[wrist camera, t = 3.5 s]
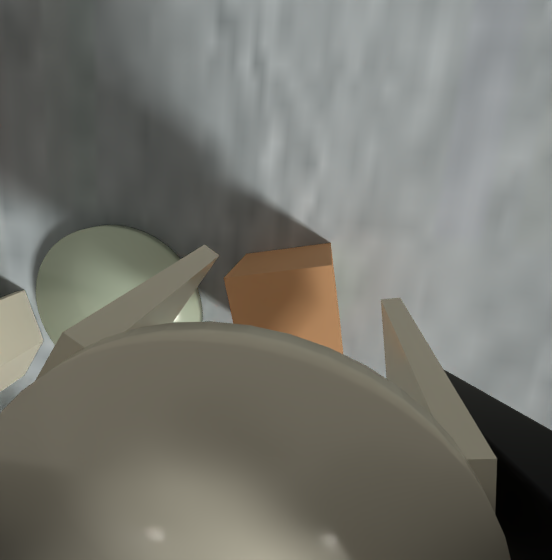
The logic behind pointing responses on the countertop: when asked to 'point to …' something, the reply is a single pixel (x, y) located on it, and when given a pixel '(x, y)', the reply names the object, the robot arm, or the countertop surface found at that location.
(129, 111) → the countertop surface
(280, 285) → the block
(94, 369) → the cover
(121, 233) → the dish
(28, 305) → the cover
